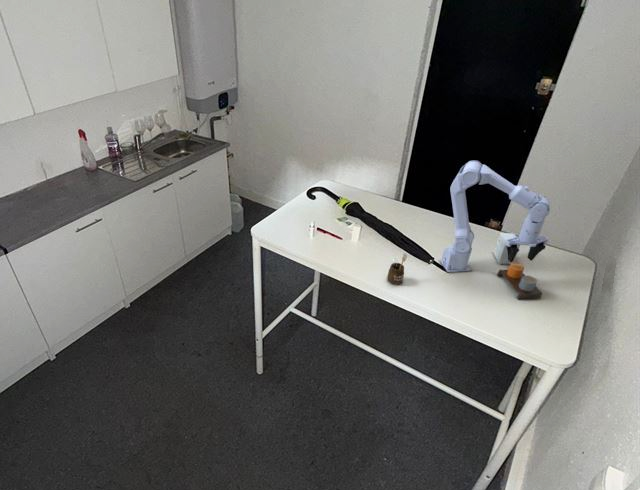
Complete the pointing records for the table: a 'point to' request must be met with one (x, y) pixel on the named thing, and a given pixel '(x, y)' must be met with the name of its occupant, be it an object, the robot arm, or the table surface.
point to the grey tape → (527, 283)
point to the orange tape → (515, 270)
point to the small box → (503, 248)
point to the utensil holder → (396, 272)
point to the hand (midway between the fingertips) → (519, 259)
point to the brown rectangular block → (515, 284)
